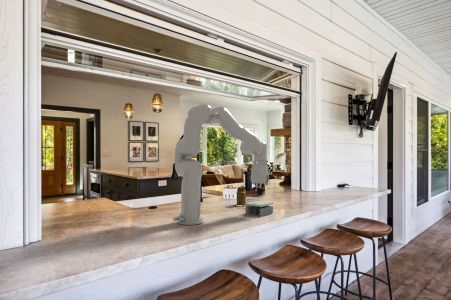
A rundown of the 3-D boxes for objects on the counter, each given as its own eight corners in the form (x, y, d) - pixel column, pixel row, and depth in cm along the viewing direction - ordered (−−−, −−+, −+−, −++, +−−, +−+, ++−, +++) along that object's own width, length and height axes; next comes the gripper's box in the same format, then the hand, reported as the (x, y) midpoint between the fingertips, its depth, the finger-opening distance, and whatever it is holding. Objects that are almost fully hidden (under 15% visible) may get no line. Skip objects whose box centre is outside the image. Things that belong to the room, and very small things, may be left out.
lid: (261, 206, 162) (261, 205, 162) (245, 204, 169) (245, 203, 169) (273, 204, 171) (273, 202, 171) (257, 202, 178) (257, 200, 178)
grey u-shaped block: (261, 216, 162) (261, 207, 162) (245, 213, 169) (245, 205, 169) (272, 213, 171) (273, 204, 171) (257, 210, 178) (257, 202, 178)
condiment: (248, 205, 196) (248, 187, 196) (239, 207, 190) (239, 188, 190) (240, 204, 201) (240, 186, 201) (231, 205, 195) (231, 187, 196)
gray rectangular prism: (256, 215, 166) (256, 207, 166) (252, 214, 169) (252, 206, 169) (266, 213, 170) (266, 205, 171) (262, 212, 173) (262, 205, 173)
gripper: (245, 163, 172) (245, 194, 172) (267, 163, 162) (267, 196, 162) (253, 162, 178) (253, 193, 178) (274, 163, 168) (274, 195, 168)
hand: (259, 194), depth 170 cm, fingers closed
